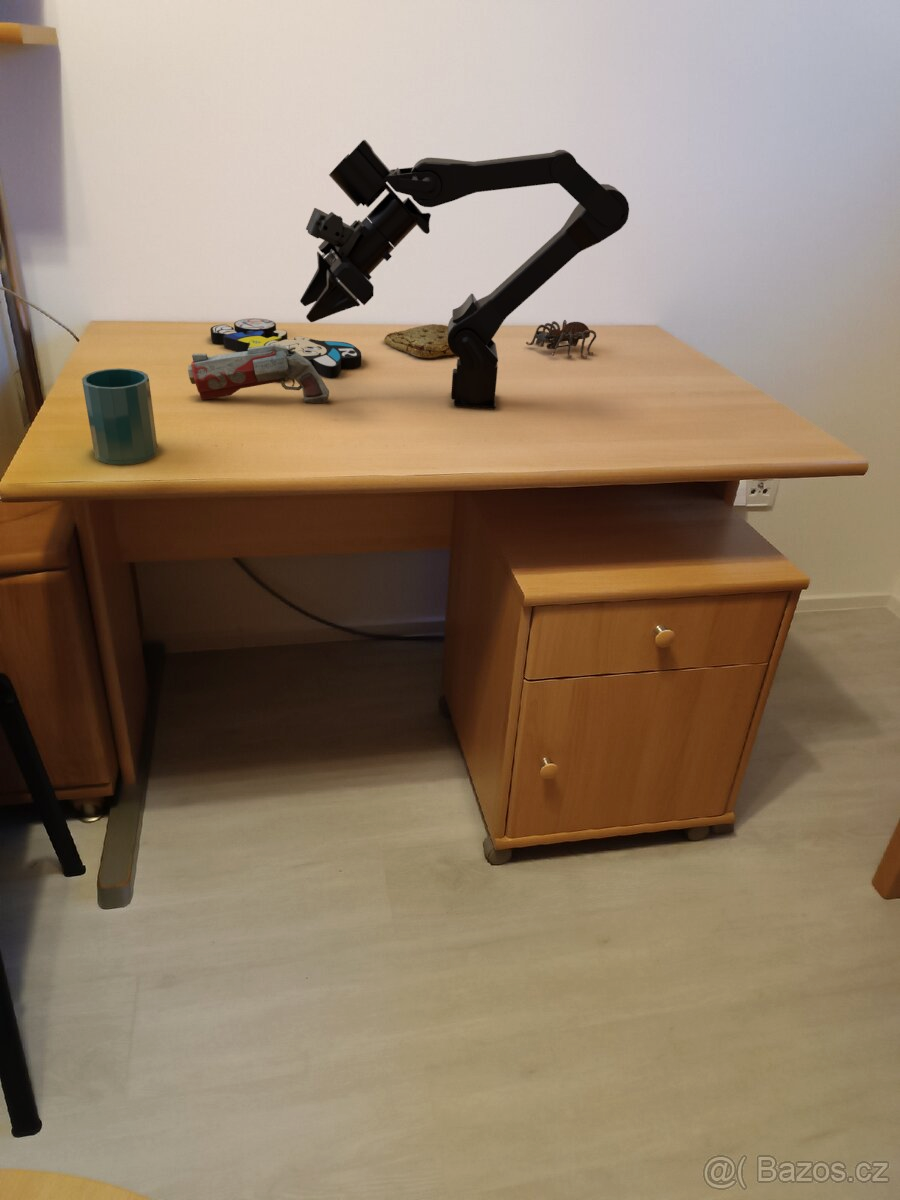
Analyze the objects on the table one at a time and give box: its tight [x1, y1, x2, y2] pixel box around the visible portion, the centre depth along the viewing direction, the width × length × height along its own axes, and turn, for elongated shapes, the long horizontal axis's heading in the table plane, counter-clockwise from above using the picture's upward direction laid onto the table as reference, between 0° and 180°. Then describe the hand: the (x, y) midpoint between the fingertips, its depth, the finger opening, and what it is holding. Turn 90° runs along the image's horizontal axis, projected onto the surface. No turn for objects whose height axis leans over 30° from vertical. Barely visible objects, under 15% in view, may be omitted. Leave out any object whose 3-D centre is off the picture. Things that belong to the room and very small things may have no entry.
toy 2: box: [525, 319, 597, 359], centre depth 166 cm, size 12×12×5 cm
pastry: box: [384, 323, 455, 359], centre depth 163 cm, size 17×17×3 cm
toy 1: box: [209, 317, 362, 382], centre depth 154 cm, size 28×2×30 cm
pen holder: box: [81, 367, 159, 466], centre depth 112 cm, size 8×8×10 cm
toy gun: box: [187, 344, 330, 404], centre depth 133 cm, size 4×20×10 cm, turn 95°
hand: (305, 311), depth 129 cm, fingers open, 9 cm apart
